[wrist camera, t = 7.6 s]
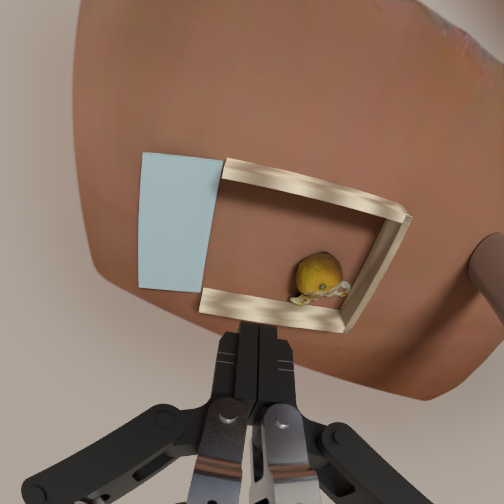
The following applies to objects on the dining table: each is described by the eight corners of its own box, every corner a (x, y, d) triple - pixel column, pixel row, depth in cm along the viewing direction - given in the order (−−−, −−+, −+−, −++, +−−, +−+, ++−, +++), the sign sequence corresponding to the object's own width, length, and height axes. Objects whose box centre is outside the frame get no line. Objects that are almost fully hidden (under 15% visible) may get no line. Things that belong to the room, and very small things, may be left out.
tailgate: (223, 162, 28) (142, 153, 25) (200, 292, 37) (138, 287, 35) (222, 160, 28) (143, 152, 26) (200, 290, 37) (139, 285, 35)
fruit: (292, 306, 39) (295, 325, 36) (279, 257, 35) (281, 276, 31) (351, 292, 38) (358, 311, 35) (346, 241, 33) (355, 259, 30)
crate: (399, 203, 30) (413, 217, 27) (343, 315, 40) (348, 333, 37) (227, 157, 28) (223, 167, 25) (202, 293, 37) (198, 311, 34)
